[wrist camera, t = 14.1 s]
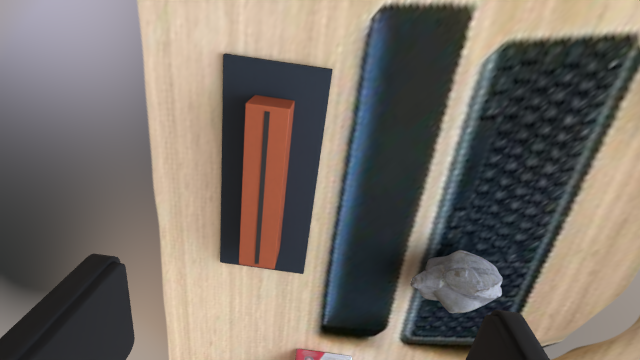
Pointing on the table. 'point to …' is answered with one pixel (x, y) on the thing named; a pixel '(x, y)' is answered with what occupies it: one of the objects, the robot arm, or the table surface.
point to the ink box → (319, 355)
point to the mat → (305, 148)
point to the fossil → (459, 281)
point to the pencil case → (264, 178)
